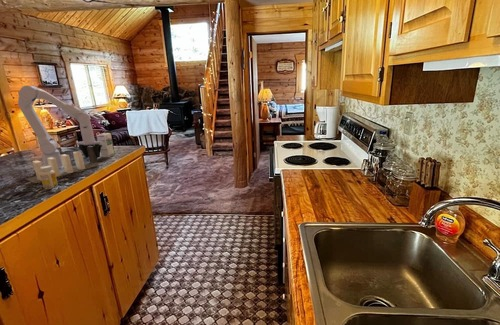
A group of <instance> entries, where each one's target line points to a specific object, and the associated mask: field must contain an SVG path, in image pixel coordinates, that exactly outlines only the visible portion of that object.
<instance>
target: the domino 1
mask: <svg viewBox="0 0 500 325" xmlns="http://www.w3.org/2000/svg"><path fill="white" fill-rule="evenodd" d="M31 163H32V166H33V168H34V171H35V176H37V179H38V180H41V177H40V173H41V172H42V171H41V170H40V168H41V167H43V166H44V164H43V161H40V160H37V159H36V160H33V161H32V162H31Z"/></svg>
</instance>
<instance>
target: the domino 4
mask: <svg viewBox="0 0 500 325" xmlns="http://www.w3.org/2000/svg"><path fill="white" fill-rule="evenodd" d="M72 155H73V158H74V159H73V160H74V162H75V166H76V167H77V169H81V170H80V171H83V170H82V169H84V170H86V169H85V165H84V163H85V161H84V157H83V152H82V151H73V152H72Z"/></svg>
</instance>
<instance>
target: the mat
mask: <svg viewBox="0 0 500 325" xmlns="http://www.w3.org/2000/svg"><path fill="white" fill-rule="evenodd" d="M104 164H105V163H103V162H99V161H98V162H97V163H92V162H90V161H87V162H84V165H85V169H82V170H81V169H77V167H76V165H72V168H73V172H72V173H71V174H73V173H76V172H79V171H83V170H87V169H91V168H95V167H97V166H101V165H104ZM59 172H60V175H61V176H57V177H56V178H59V177H62V176H65V175H70V173H67V172H65V171H64V168H60V169H59ZM25 180H26V181H28V182H32V183H33V184H37V183H40V182H41V183H42V181H41V180H38V179H37V176H36V175H35V176H30V177H27V178H25Z"/></svg>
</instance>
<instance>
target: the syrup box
mask: <svg viewBox="0 0 500 325" xmlns="http://www.w3.org/2000/svg"><path fill="white" fill-rule="evenodd" d="M96 141H103V145H102V147H101V150H100V157H101V158H111V157H112V156H115V155H116V151H115V147H114V142H113V137H112V133H110V132H103V133H99V134H96Z"/></svg>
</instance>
